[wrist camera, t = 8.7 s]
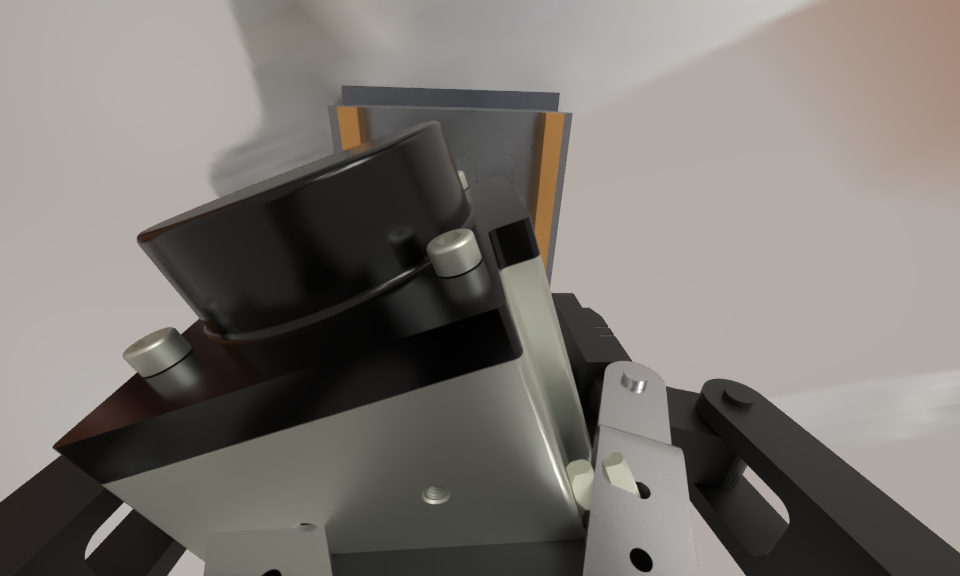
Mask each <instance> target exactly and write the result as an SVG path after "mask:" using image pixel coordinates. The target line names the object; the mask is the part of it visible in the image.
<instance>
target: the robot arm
mask: <svg viewBox="0 0 960 576" xmlns="http://www.w3.org/2000/svg"><path fill="white" fill-rule="evenodd" d="M551 295H552V299H553V303H554V306H555V310H556V314H557V318H558V321H559V325H560V329H561V332H562V336H563V340H564V344H565V347H566V351H567V355H568V359H569V362H570V366H571V370H572V374H573V377H574V381H575V385H576V389H577V392H578V396H579V400H580V404H581V407H582V411H583V415H584V419H585V422H586V426H587V430H588V433H589V437H590V441H591V445H592V448H593V450H592V456H591V460H590V464H591V466H592V468H593V471H594V473H595V477H594V483H593V489H592V495H591V501H590V507H589V511H588V515H587V519H586V524H583V521H582V524H583V527H584V530H585V532H584V537H583V538H581V539H571V540H554V541H537V542H521V543H504V544H488V545H471V546H455V547H438V548H422V549H405V550H389V551H372V552H356V553H340V554H332V553H331V548H330V545H329V541H328V538H327V534H326V531H325V527H324V526H320V527H317V526H316V525H314V524H311V523H300V524H299V525H296V526H294V527H293V528H284V529H266V530H248V531H229V532H211V533H208V540H207V550H206V560H205V570H204V576H699V571H698V562H697V555H696V546H695V539H694V532H693V524H692V515H691V507H690V501H691V502H692V504H693V505H694V506H695V508H696V509H697V511H698V512H699V513H700V514H701V516H702V517H703V519H704V520H705V521H706V523H707V524H708V525H709V527H710V528H711V529H712V531H713V532H714V533H715V535H716V536H717V537H718V539H719V540H720V541H721V543H722V544H723V545H724V547H725V548H726V549H727V551H728V552H729V553H730V555H731V556H732V557H733V559H734V560H735V561H736V563H737V564H738V565H739V567H740V568H741V569H742V571H743V572H744V573H745V575H746V576H960V553H959V552H958V551H956V550H955V549H954V548H953V547H951V546H950V545H949V544H948V543H946V542H945V541H944V540H943V539H941V538H940V537H939V536H938V535H936V534H935V533H934V532H933V531H931V530H930V529H929V528H928V527H926V526H925V525H924V524H923V523H921V522H920V521H919V520H917V519H916V518H915V517H914V516H912V515H911V514H910V513H909V512H908V511H906V510H905V509H904V508H902V507H901V506H900V505H899V504H898V503H896V502H895V501H894V500H893V499H891V498H890V497H889V496H888V495H886V494H885V493H884V492H883V491H881V490H880V489H879V488H877V487H876V486H875V485H874V484H872V483H871V482H870V481H869V480H867V479H866V478H865V477H864V476H862V475H861V474H860V473H859V472H857V471H856V470H855V469H854V468H852V467H851V466H850V465H849V464H847V463H846V462H845V461H844V460H842V459H841V458H840V457H839V456H837V455H836V454H835V453H834V452H832V451H831V450H830V449H829V448H827V447H826V446H825V445H824V444H822V443H821V442H820V441H819V440H817V439H816V438H815V437H814V436H812V435H811V434H810V433H809V432H807V431H806V430H805V429H804V428H802V427H801V426H800V425H799V424H797V423H796V422H795V421H794V420H792V419H791V418H790V417H789V416H787V415H786V414H785V413H783V412H782V411H781V410H780V409H778V408H777V407H776V406H775V405H773V404H772V403H771V402H770V401H768V400H767V399H766V398H765V397H763V396H762V395H761V394H759V393H758V392H757V391H755V390H753V389H752V388H749V387H748V386H746V385H743V384H741V383H738V382H735V381H731V380H726V379H712V380H709V381H707V382H705V383H704V385H703V387H702V390H701V392H700V393H695V392H690V391H685V390H679V389H674V388H671V387H667V386H666V385H665V382H664V380H663V379H662V378H661V376H660V375H659V374H657V373H656V372H655V371H654V370H652V369H650V368H649V367H646V366H644V365H642V364H639V363H636V362H632V360H631V359H630V357H629V356H628V355H627V353H626V351H625V350H624V348H623V347H622V346H621V344H620V343H619V341H618V340H617V338H616V337H615V336H614V334H613V332H612V331H611V329H610V328H608V325H607V324H606V322H605V321H604V319H603V318H602V316H600V315H599V314H597V313H596V312H595V311H593V310H592V309H590V308H582V307H581V305H580V303H579V302H578V300H577V298H576V297H575V295H574V294H573V293H551ZM614 451H616V452H619V453H621V454H622V455H623V457H624V458H625V460H626V462H627V464H628V466H629V468H630V471H631V473H632V475H633V478H634V480H635V483H636V485H637V488H638V491H639V494H640V497H641V498H639V497H637V496H636V495H635V494H633V493H631V492H628V491H626V490H624V489H621V488H619V487H616V486H614V485H612V484H611V482H610V479H609V477H608V474H607V472H606V470H605V467H604V465H603V462H602V460H603V459H605V458H606V457H608V456H609V455H610V454H612V453H613V452H614ZM747 465H748V466H749V467H750V468H751V469H752V470H753V471H754V472H755V473H756V474H757V475H758V476H759V477H760V478H761V479H762V480H763V481H764V482H765V483H766V484H767V485H768V486H769V487H770V489H771V490H772V491H773V492H774V493H775V494H776V495H777V496H778V497H779V498H780V499H781V500H782V502H783V503H784V505H785V507H786V509H787V511H788V514H789V518H790V523H789V524H788V523H787V522H786V521H785V520H784V519H783V518H782V517H781V516H780V515H779V514H778V513H777V512H776V510H775V509H774V508H773V507H772V506H771V505H770V504H769V503H768V502H767V501H766V500H765V499H764V498H763V497H762V496H761V495H760V494H759V492H758V491H757V490H756V489H755V488H754V487H753V486H752V485H751V484H750V483H749V482H748V481H747V479H746V478H745V477H744V476H743V475H742V474H743V473H744V471H745V468H746V467H747ZM122 503H124V501H123V500H121V499H120V498H119V497H117V496H116V495H115V494H113V493H112V492H110V491H109V490H108V489H106V488H105V487H104V486H102V485H101V484H100V483H98V482H97V481H96V480H94V479H93V478H92V477H90V476H89V475H88V474H86V473H85V472H84V471H82V470H81V469H80V468H78V467H77V466H76V465H74V464H73V463H72V462H70V461H69V460H68V459H66V458H65V457H64V456H62V455H61V456H59V457H58V458H57V459H56V460H54V461H53V462H52V463H50V464H49V465H48V466H47V467H45V468H44V469H43V470H42V471H40V472H39V473H38V474H36V475H35V476H34V477H33V478H31V479H30V480H29V481H27V482H26V483H25V484H24V485H22V486H21V487H20V488H18V489H17V490H16V491H14V492H13V493H12V494H11V495H9V496H8V497H7V498H5V499H4V500H3V501H2V502H0V576H167V575H168V574H169V572H170V571H171V570H172V568H173V567H174V566H175V564H176V563H177V561H178V560H179V559H180V557H181V556H182V555H183V553H184V552H185V551H186V549H187V548H185V547H184V546H183V545H181V544H180V543H179V542H177V541H176V540H175V539H173V538H172V537H171V536H169V535H168V534H167V533H165V532H164V531H163V530H161V529H160V528H159V527H157V526H156V525H155V524H153V523H152V522H151V521H149V520H148V519H147V518H145V517H144V516H143V515H141V514H140V513H139V512H137V511H136V510H135V509H133V510H132V511H131V512H130V513H129V514H128V515H127V516H126V517H125V519H123V520H122V522H121V523H120V524H119V525H118V526H117V527H116V528H115V529H114V530H113V531H112V532H111V533H110V534H109V535H108V536H107V538H106V539H105V540H104V541H103V542H102V543H101V544H100V545H99V546H98V547H97V548H96V549H95V550H94V552H92V554H91V555H90V556H89V557H88V558H87V559H86V560H85V551H86V547H87V545H88V543H89V541H90V539H91V537H92V535H93V534H94V533H95V532H96V531H97V529H98V528H99V527H100V526H101V525H102V524H103V523H104V522H105V521H106V520H107V519H108V518H109V517H110V516H111V515H112V514H113V513H114V512H115V511H116V510H117V508H119V507H120V506H121V505H122ZM581 520H582V519H581Z"/></svg>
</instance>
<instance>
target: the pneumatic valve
mask: <svg viewBox="0 0 960 576" xmlns="http://www.w3.org/2000/svg"><path fill="white" fill-rule="evenodd" d="M137 243H138V244H139V246H140V247H141V248H142V250H143V251H144V252H145V253H146V254H147V256H148V257H149V258H150V259H151V260H152V262H153V263H154V264H155V265H156V266H157V268H158V269H159V270H160V271H161V273H162V274H163V275H164V276H165V277H166V279H167V280H168V281H169V282H170V283H171V285H172V286H173V287H174V288H175V289H176V291H177V292H178V293H179V294H180V295H181V297H182V298H183V299H184V300H185V301H186V303H187V304H188V305H189V306H190V307H191V309H192V310H193V311H194V312H195V313H196V315H197V316H198V317H199V319H198V320H197V321H196V322H195V323H194V324H193V325H191V326H190V327H189V328H188V329H187V330H186V331H185V332H183V333H182V334H180V333H179V332H178V331H177V330H176V329H175V328H172V327H168V328H164V329H160V330H158V331H156V332H153V333H151V334H149V335H147V336H146V337H144V338H142V339H140V340H138V341H137V342H135V343H134V344H132V345H131V346H130V347H129V348H127V349H126V350H125V352H124V353H123V358H124V359H125V360H126V361H127V362H128V363H129V364H130V365H131V366H132V367H133V368H134V369H135V370H136V371H137V373H136V374H135V375H134V376H133V377H131V378H130V379H129V380H128V381H127V382H126V383H124V384H123V385H122V386H121V387H120V388H119V389H118V390H116V391H115V392H114V393H113V394H112V395H111V396H109V397H108V398H107V399H106V400H105V401H104V402H103V403H101V404H100V405H99V406H98V407H97V408H96V409H94V410H93V411H92V412H91V413H90V414H89V415H88V416H86V417H85V418H84V419H83V420H82V421H81V422H79V423H78V424H77V425H76V426H75V427H74V428H72V429H71V430H70V431H69V432H68V433H67V434H66V435H64V436H63V437H62V438H61V439H60V440H59V441H58V442H57V443H55V444H54V446H53V449H54V450H56V451H57V452H58V453H60V454H61V455H62V456H64V457H65V458H66V459H68V460H69V461H70V462H72V463H73V464H74V465H76V466H77V467H78V468H80V469H81V470H82V471H84V472H85V473H86V474H88V475H89V476H90V477H92V478H93V479H94V480H96V481H97V482H98V483H100V484H101V485H102V486H104V487H105V488H106V489H108V490H109V491H110V492H112V493H113V494H115V495H116V496H117V497H119V498H120V499H121V500H123V501H124V502H125V503H127V504H128V505H129V506H131V507H132V508H133V509H135V510H136V511H137V512H139V513H140V514H141V515H143V516H144V517H145V518H147V519H148V520H149V521H151V522H152V523H153V524H155V525H156V526H157V527H159V528H160V529H161V530H163V531H164V532H165V533H167V534H168V535H169V536H171V537H172V538H173V539H175V540H176V541H177V542H179V543H180V544H181V545H183V546H184V547H185V548H187V549H188V550H189V551H191V552H192V553H194V554H195V555H196V556H198V557H199V558H200V559H202V560H203V561H204V562H205V560H206V550H207V540H208V533H211V532H229V531H248V530H266V529H284V528H293V527H294V526H296V525H299V524H300V523H311V524H314V525H316V526H317V527H320V526H324V527H325V531H326V534H327V538H328V541H329V545H330V548H331V553H332V554H340V553H356V552H372V551H389V550H405V549H422V548H438V547H455V546H471V545H488V544H504V543H521V542H537V541H554V540H571V539H581V538H583V537H584V532H585V530H584V527H583V524H586V519H587V515H588V511H589V507H590V501H591V495H592V489H593V483H594V477H595V473H594V471H593V468H592V466H591V464H590V460H591V456H592V450H593V448H592V445H591V441H590V437H589V433H588V430H587V426H586V422H585V419H584V415H583V411H582V407H581V404H580V400H579V396H578V392H577V389H576V385H575V381H574V377H573V374H572V370H571V366H570V362H569V359H568V355H567V351H566V347H565V344H564V340H563V336H562V332H561V329H560V325H559V321H558V318H557V314H556V310H555V306H554V303H553V299H552V295H551V291H550V288H549V284H548V280H547V276H546V273H545V269H544V265H543V261H542V258H541V254H540V250H539V246H538V243H537V239H536V235H535V232H534V228H533V224H532V220H531V217H530V214H529V212H528V211H527V209H526V208H525V206H524V205H523V203H522V202H521V201H520V199H519V198H518V196H517V195H516V193H515V192H514V190H513V189H512V187H511V186H510V185H509V183H508V182H507V180H506V179H505V177H504V176H503V175H498V176H495V177H492V178H490V179H487V180H484V181H481V182H478V183H475V182H474V179H473V176H472V175H469V176H466V177H465V175H464V173H463V171H457V168H456V166H455V163H454V160H453V157H452V154H451V151H450V148H449V145H448V142H447V140H446V137H445V134H444V131H443V128H442V125H441V124H440V123H439V122H438V121H428V122H424V123H421V124H418V125H415V126H412V127H408V128H405V129H403V130H400V131H397V132H394V133H391V134H388V135H385V136H382V137H379V138H377V139H374V140H371V141H368V142H365V143H363V144H360V145H357V146H354V147H352V148H349V149H346V150H344V151H341V152H338V153H335V154H333V155H330V156H327V157H325V158H322V159H319V160H317V161H314V162H311V163H309V164H306V165H303V166H301V167H298V168H296V169H293V170H290V171H288V172H285V173H283V174H280V175H277V176H275V177H272V178H270V179H267V180H264V181H262V182H259V183H257V184H254V185H252V186H249V187H246V188H244V189H241V190H239V191H236V192H234V193H231V194H229V195H226V196H224V197H221V198H219V199H216V200H214V201H212V202H209V203H207V204H204V205H201V206H199V207H197V208H194V209H192V210H190V211H187V212H185V213H182V214H180V215H177V216H175V217H173V218H171V219H168V220H166V221H163V222H161V223H159V224H157V225H155V226H152V227H150V228H148V229H146V230H145V231H143V232H141V233H140V234H139V235H138V236H137ZM602 462H603V465H604V467H605V470H606V472H607V474H608V477H609V479H610V482H611V484H612V485H614V486H616V487H619V488H621V489H624V490H626V491H628V492H631V493H633V494H635V495H636V496H637V497H639V498H641V497H640V494H639V491H638V488H637V485H636V483H635V480H634V478H633V475H632V473H631V471H630V468H629V466H628V464H627V462H626V460H625V458H624V457H623V455H622V454H621V453H619V452H616V451H614V452H613V453H612V454H610V455H609V456H608V457H606V458H605V459H603V460H602ZM581 519H582V520H581ZM582 521H583V524H582Z"/></svg>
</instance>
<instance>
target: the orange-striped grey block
mask: <svg viewBox="0 0 960 576" xmlns="http://www.w3.org/2000/svg"><path fill="white" fill-rule="evenodd" d="M342 92H343V100H344V105H339V106H328V109H329V116H330V123H331V129H332V136H333V143H334V150H335V153H338V152H341V151H344V150H346V149H349V148H352V147H354V146H357V145H360V144H363V143H365V142H368V141H371V140H374V139H377V138H379V137H382V136H385V135H388V134H391V133H394V132H397V131H400V130H403V129H405V128H408V127H412V126H415V125H418V124H421V123H424V122H428V121H438V122H439V123H440V124H441V125H442V128H443V131H444V134H445V137H446V140H447V142H448V145H449V148H450V151H451V154H452V157H453V160H454V163H455V166H456V168H457V171H463V173H464V175H465V177H466V176H469V175H472V176H473V179H474V182H475V183H478V182H481V181H484V180H487V179H490V178H492V177H495V176H498V175H503V176H504V177H505V179H506V180H507V182H508V183H509V185H510V186H511V187H512V189H513V190H514V192H515V193H516V195H517V196H518V198H519V199H520V201H521V202H522V203H523V205H524V206H525V208H526V209H527V211H528V212H529V214H530V217H531V220H532V224H533V228H534V232H535V235H536V239H537V243H538V246H539V250H540V254H541V258H542V261H543V265H544V269H545V273H546V276H547V280H548V284H549V288H550V283H551V275H552V267H553V260H554V252H555V244H556V236H557V229H558V221H559V213H560V206H561V198H562V190H563V183H564V174H565V167H566V159H567V151H568V143H569V136H570V128H571V121H572V113H567V112H558V104H559V95H560V93H549V92H518V91H488V90H457V89H427V88H397V87H366V86H342Z"/></svg>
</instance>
